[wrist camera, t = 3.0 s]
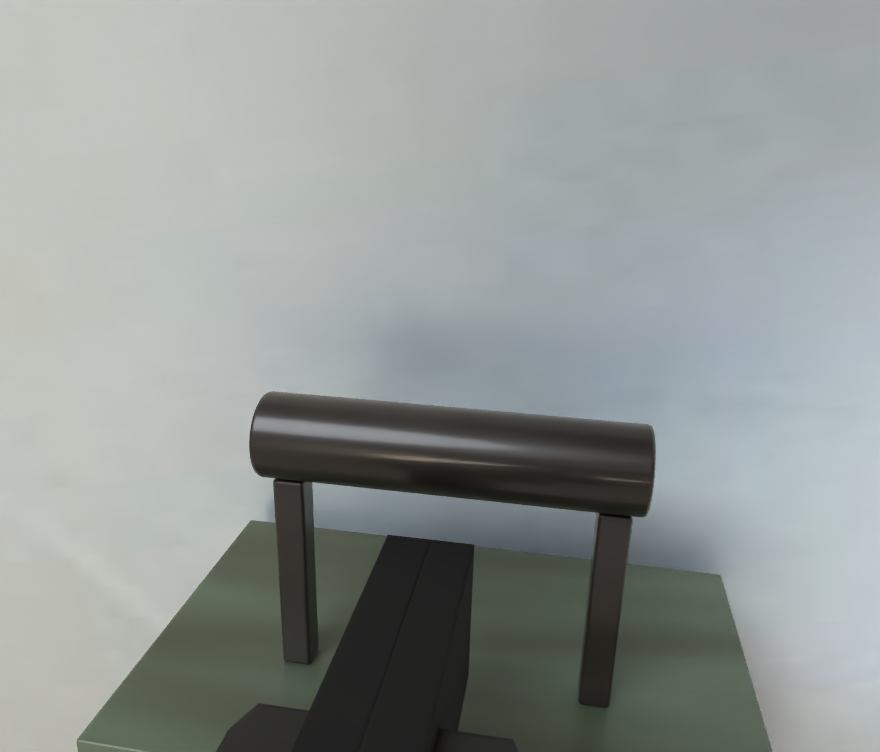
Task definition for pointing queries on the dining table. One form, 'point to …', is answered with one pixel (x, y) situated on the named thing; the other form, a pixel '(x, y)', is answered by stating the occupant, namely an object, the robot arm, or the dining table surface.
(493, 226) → the dining table surface
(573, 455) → the drawer
